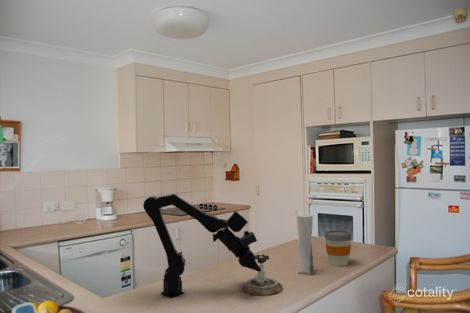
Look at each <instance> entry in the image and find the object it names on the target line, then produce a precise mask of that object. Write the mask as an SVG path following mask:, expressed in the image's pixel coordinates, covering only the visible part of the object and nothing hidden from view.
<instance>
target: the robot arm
mask: <svg viewBox="0 0 470 313" xmlns="http://www.w3.org/2000/svg"><path fill="white" fill-rule="evenodd" d="M142 205H143V207H142V208H143V210H144V211H145V213H146V215H147V216H148V217H149V219H151V221H152V223H153V225H154V227H155V229H156V232H157V234H158V237H159V240H160V242H161V244H162V247H163V249H164V251H165V256H166V261H167V266H168V267H167V268H166V269H165V271H164V274H163V279H162V280H163V281H162V282H163V283H162V284H163V287H162V288H163V291H161V293H160V294H161V295H163V296H164V297H168V298H173V297H177V296H180V295H183V294H184V293H185V292H184V291H183V280H182V277H181V276H182V275H183V274H184V271H185V266H186V259H185V258H184V256H183V251H179V252H178V250H177V248H176V247H175V244H174V242H173V240H172V237H171V234H170V233H169V230H168V228H167V225H166V222H165V219H164V217H163V212H162V209H163V208H166V207H169V206H174V207H175V208H177V209H179V210H180V211H182V212H184V213H185V214H186V215H189V216H190V217H191V218H193V219H195V220H196V221H198V222H199V224H201V225H202V226H203V227H204V229H206V230H207V231H208V232H210V233H212V241H213V243H215V242H216V241H217V240H218V241H220V242H221V243H222V244H223V245H224V246H225V248H227V250H228V251H229V252H231V253H232V254H233V255H234V257H235V258H236V259H238V263H239V265H240V266H241V267H242V268H243V267H244V268H247V269H250V270H253V271H255V272H257V273H258V272H260V271H261V269H260V267H259V263H258V261H256V260H254V257H255V256H256V255H255V253H253V251H252V250H251V249H250V246H249V245H251V244H253V243H256V242H257V241H258V239H257V237H256V235H255V232H253V231H248V230H246V231H245V230H244V232H243V235H242V236H241V237H239V236H236V234H234V233H239V232H241V231H242V230H243V229H244V227H245V226H246V225H247V224H249V221H248V220H247V219H246V218H245V217H244V216H243V215H241V214H240V213H239V212H238V211H236V210H235V211H233V213H232V214H231V215H230V216H229V218H228V219H222V218H218V217H217V216H215V215H213V214H210V213H207V212H205V211H202V210H200V209H199V208H197V207H196V206H194V205H192V204H191V203H189V202H188V201H186V200H185V199H183V198H181V197H180V196H178V195H177V194H175V193H171V194H168V195H163V196H159V197H157V196H154V195H152V196H149V197H147V198H146V199H145V200H144V201H143V204H142ZM233 232H234V233H233Z"/></svg>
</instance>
